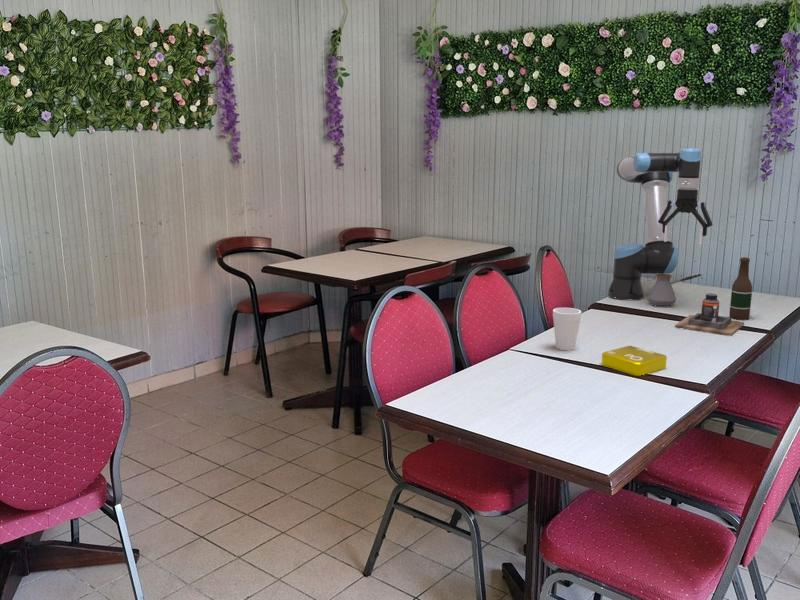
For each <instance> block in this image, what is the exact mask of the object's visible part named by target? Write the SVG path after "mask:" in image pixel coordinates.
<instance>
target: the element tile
mask: <svg viewBox="0 0 800 600" xmlns="http://www.w3.org/2000/svg"><path fill="white" fill-rule="evenodd" d="M601 366H603V367H605V368H609V369H611V368H612V370H616V371H619V372H620V373H625V374H628V375H631V376H636V377H642V376H641V375H643V376H645V374H646V375H649V374H648V373H650V374H652V372H653V373H656V372H659V371H662V370H665V369H666V367H667V355H666V354H663V353H660V352H655V351H652V350H648V349H644V348H640V347H636V346H632V345H626V346H622V347H619V348H615V349H611V350H607V351H604V352H602V354H601ZM655 371H656V372H655Z"/></svg>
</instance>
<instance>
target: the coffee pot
mask: <svg viewBox="0 0 800 600" xmlns="http://www.w3.org/2000/svg"><path fill="white" fill-rule="evenodd" d="M655 277H656V281H655V282H654V285H653V286H652V289H651V290H650V292H649V294H648V296H647V300H648V302H649V303H651V305H652V304H653V305H652V306H654V305H656V306H655V307H658V306H670V307H671V306H672V305H674V304H675V302H676V301H677V297H676V294H675V291H674V289H673V286H672V285H673V284H676V283H679V282H685V281H688V280H689V281H690V280H692V279H695V278H698V277H700V279H701V280H702V279H704V277H703V276H702V273H699V274H694V275H689V276H686V277H684V278H683V277H682V278H680V279H677V280H673V281H671V278H672V274H669V273H668V274H655Z"/></svg>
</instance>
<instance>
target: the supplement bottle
mask: <svg viewBox="0 0 800 600" xmlns="http://www.w3.org/2000/svg"><path fill="white" fill-rule="evenodd" d="M719 309H720V301H719V300H718V294H716V293H712V292H711V293H705V298H704V299H703V300H702V303H701V320H702V321H709V322H716V323H717V322H718V316H719Z"/></svg>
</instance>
